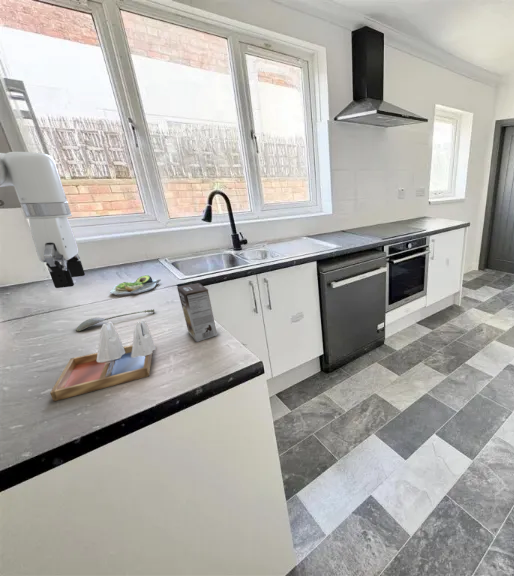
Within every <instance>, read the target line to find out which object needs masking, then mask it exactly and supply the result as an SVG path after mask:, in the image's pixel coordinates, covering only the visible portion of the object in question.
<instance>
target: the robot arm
mask: <svg viewBox="0 0 514 576" xmlns="http://www.w3.org/2000/svg"><path fill="white" fill-rule="evenodd" d="M4 187H13V188H14V191H15V193H16V196H17V200H18V202H19V203H20V204H19V205H20V207H21V210H22V213H23V215H24V218H25V219H28V222H29V228H30V232H31V236H32V240H33V244H34V247H35V250H36V253H37V257H38V259H39V261H40V262H42V263H45V265H46V266H47V270H48V272H49V275H50V278H51V281H52V283H53V285H54V287H55V288H56V289H61V288H63V289H64V288H71V287H74V286H75V283H74V279H73V278H79V277H85V275H86V273H85V269H84V267H83V264H82V260H81V257H80V256H79V246H78V242H77V239H76V236H75V234H74V231H73V229H72V226H71V223H70V221H69V218H70V217H72V216H73V214H72V211H71V208H70V204H69V202H68V199H67V195H66V191H65V189H64V186H63V183H62V180H61V177H60V173H59V170H58V166H57V164H56V161H55V159H54V158H53V157H52V156H51V155H50V154H47V153H42V152H33V151H9V152H6V153H5V152H0V188H4Z"/></svg>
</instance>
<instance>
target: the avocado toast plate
mask: <svg viewBox="0 0 514 576" xmlns="http://www.w3.org/2000/svg"><path fill="white" fill-rule="evenodd" d="M161 281H162V279H157V280H156V279H153V278H152V277H151V275H148V274H147V275H142V276H140V277H138V278H137V279H136V280H135V281H127V282H126V281H124V282H122V283H118V284H116V285H114V287H112V289H111V290H110V291H109V294H111V295H115V296H119V297H125V296H131V295H138V294H142V293H145V292H148V291H151V290H153V289H154V288H155V287H156V286H157V285H158V284H159V282H161Z"/></svg>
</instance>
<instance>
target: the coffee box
mask: <svg viewBox="0 0 514 576" xmlns="http://www.w3.org/2000/svg"><path fill="white" fill-rule="evenodd" d="M176 289H177V293H178V296H179V301H180V305H181V308H182V312H183V317H184V320H185V325H186V328H187V331H188V334H189V335H190V337H192V338H193V340H194V341H195V342H196V343H198V342H202V341H204V340H208V339H210V338H213V337H217V336H218V331H217V328H216V323H215V317H214V312H213V307H212V302H211V298H210V293H209V289H208V288H206V287H205V286H204V285H202V284H201V283H200V282H196V283H191V284H190V283H189V284H184V285H179V286H177V287H176Z"/></svg>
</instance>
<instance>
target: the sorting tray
mask: <svg viewBox="0 0 514 576" xmlns="http://www.w3.org/2000/svg"><path fill="white" fill-rule="evenodd" d="M132 346H133V344H130V345H126V346H123V347H124V350H125V354H123V355H122V356H121V359H118V360H115V361H111V362H105V363H98V362H97V361H96V360H97V354H98V352H93V353H90V354H85V355H82V356H81V355H80V356H75V357H72V358H70V359H68V360H69V361H68V362H67V364H66V366H65V367H64V369H63V370H62V371H61V374H60V376H59V377H58V379H57V380H56V382H55V384H54V385H53V387H52V389H51V391H50V392H49V394H50V397H51V399H52V401H53V402H58V401H61V400H66V399H68V398H73V397H76V396H80V395H83V394H87V393H91V392H94V391H98V390H103V389H106V388H109V387H110V388H111V387H113V386H117V385H121V384H124V383H128V382H129V383H130V382H131V381H136V380H139V379H144V378H147V377H150V374H151V368H152V359H153V353H154V352H153V353H151V354H149V355H146V356H136V357H135V358H132V357H131V353H132Z"/></svg>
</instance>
